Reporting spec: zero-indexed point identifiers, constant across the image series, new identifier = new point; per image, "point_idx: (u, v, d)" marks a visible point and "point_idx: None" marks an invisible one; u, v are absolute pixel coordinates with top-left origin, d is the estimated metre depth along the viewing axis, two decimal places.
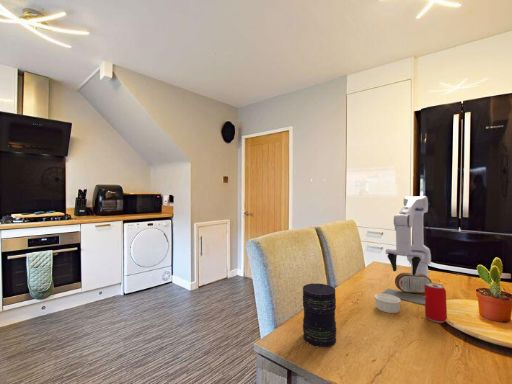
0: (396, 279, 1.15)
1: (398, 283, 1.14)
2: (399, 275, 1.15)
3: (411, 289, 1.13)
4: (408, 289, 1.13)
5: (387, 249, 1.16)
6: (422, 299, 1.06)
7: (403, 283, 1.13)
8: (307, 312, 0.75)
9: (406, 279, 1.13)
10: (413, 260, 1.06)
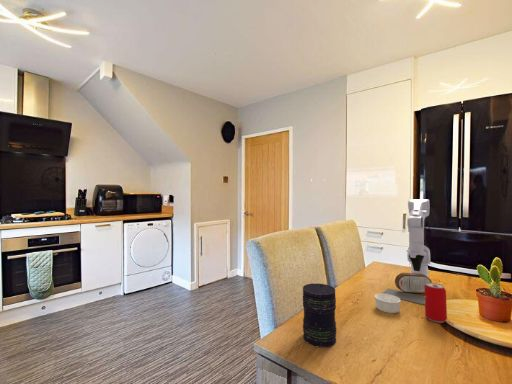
0: (396, 279, 1.15)
1: (398, 283, 1.14)
2: (399, 275, 1.15)
3: (411, 289, 1.13)
4: (408, 289, 1.13)
5: None
6: (422, 299, 1.06)
7: (403, 283, 1.13)
8: (307, 312, 0.75)
9: (406, 279, 1.13)
10: None
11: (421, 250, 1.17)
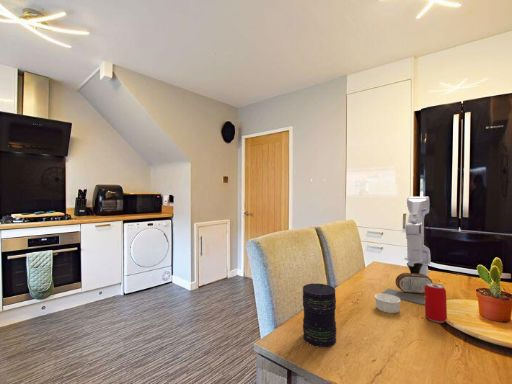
0: (396, 279, 1.15)
1: (399, 283, 1.13)
2: (400, 275, 1.14)
3: (411, 289, 1.13)
4: (408, 290, 1.13)
5: None
6: (422, 299, 1.06)
7: (404, 283, 1.13)
8: (307, 312, 0.75)
9: (407, 280, 1.13)
10: None
11: (419, 258, 1.14)
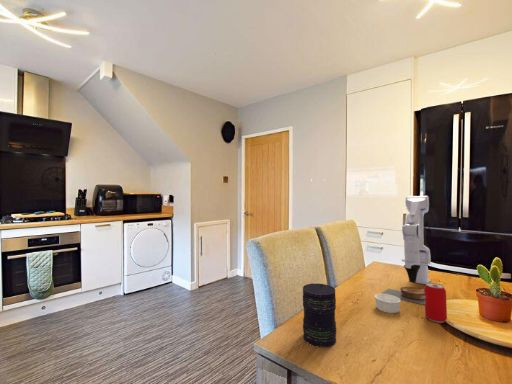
0: (403, 292, 1.08)
1: (402, 294, 1.10)
2: (408, 294, 1.06)
3: None
4: None
5: None
6: None
7: None
8: (307, 312, 0.75)
9: None
10: None
11: (417, 260, 1.11)
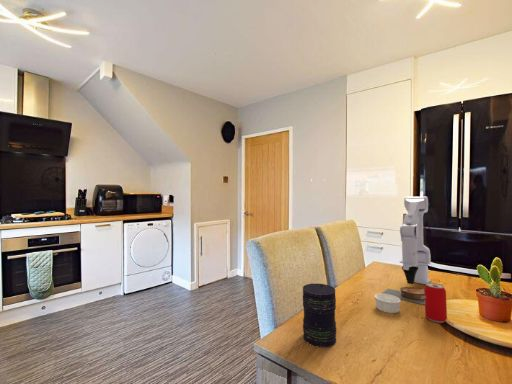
0: (403, 292, 1.08)
1: None
2: (408, 294, 1.06)
3: None
4: None
5: None
6: None
7: None
8: (307, 312, 0.75)
9: None
10: None
11: (415, 261, 1.08)
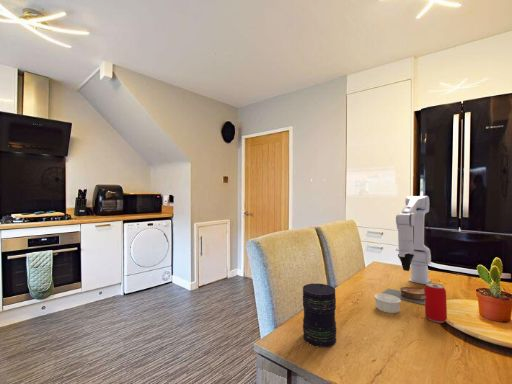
0: (403, 292, 1.08)
1: None
2: (408, 294, 1.06)
3: None
4: None
5: None
6: None
7: None
8: (307, 312, 0.75)
9: None
10: None
11: (410, 249, 1.11)
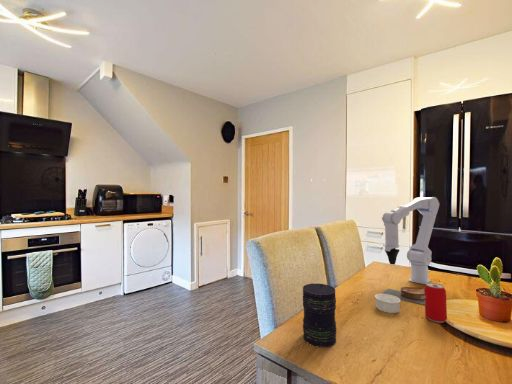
0: (403, 292, 1.08)
1: None
2: (408, 294, 1.06)
3: None
4: None
5: None
6: None
7: None
8: (307, 312, 0.75)
9: None
10: None
11: (396, 244, 1.22)
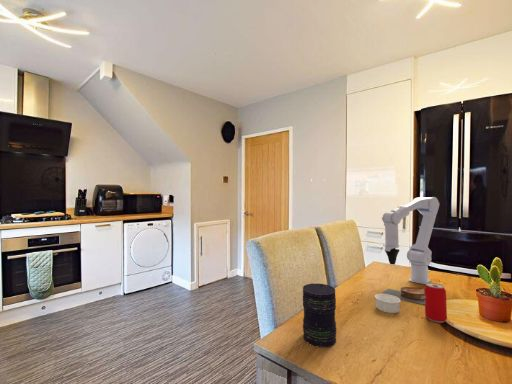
0: (403, 292, 1.08)
1: None
2: (408, 294, 1.06)
3: None
4: None
5: None
6: None
7: None
8: (307, 312, 0.75)
9: None
10: None
11: (396, 244, 1.22)
